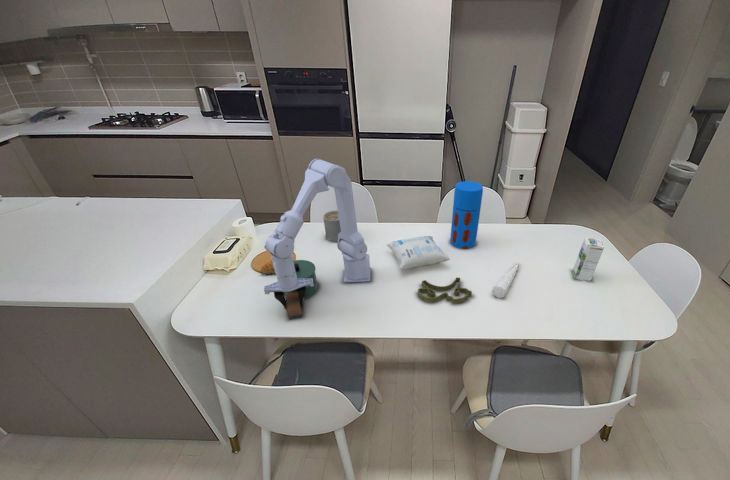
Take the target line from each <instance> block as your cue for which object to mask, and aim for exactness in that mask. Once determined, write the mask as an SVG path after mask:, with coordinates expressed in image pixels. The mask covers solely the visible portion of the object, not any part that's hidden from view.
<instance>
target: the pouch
mask: <svg viewBox="0 0 730 480" xmlns="http://www.w3.org/2000/svg"><path fill="white" fill-rule="evenodd" d="M385 246H387V247H388V248H389V250H391V251H392V253H393V254H394V255H395V257H396V258H397V260H398V263H399V269H400V270H401V269H402V270H405V269H407V270H408V269H413V268H418V267H423V266H429V265H434V264H440V263H444V262H447V261H451V257H450V256H448V255H447V254H446V253H445V251H443V250H442V249H441V248H440V247H439V246H438V245H437V244H436V242H435V241H434V239H433V236H431V235H425V236H423V235H422V236H417V237H411V238H403V239H399V240H395V241H394V240H393V241H392V242H391V241H390V242H389V243H386V244H385Z"/></svg>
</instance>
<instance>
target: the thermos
mask: <svg viewBox="0 0 730 480" xmlns="http://www.w3.org/2000/svg"><path fill="white" fill-rule="evenodd" d="M453 191H454V193H453V204H452V215H451V228H450V245H452V246H453V247H455V248H456V249H461V250H469V249H472V248H474V247H475V245H476V242H477V237H478V230H479V223H480V216H481V215H480V214H481V207H482V200H483V193H484V187H483V184H481V183H479V182H477V181H470V180H469V181H468V180H465V181H464V180H463V181H459V182H457V183H456V184H455V186H454V190H453Z"/></svg>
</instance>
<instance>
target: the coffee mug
mask: <svg viewBox="0 0 730 480" xmlns="http://www.w3.org/2000/svg"><path fill="white" fill-rule="evenodd" d="M322 218H323V224H324V230H325V239H326V240H328V241H330V242H334V243H338V234H339V233H340V232H341V227H340V221H339V215H338V209H337V210H335V209H334V210H330V211H327V212H325V213H324V214H323V215H322Z"/></svg>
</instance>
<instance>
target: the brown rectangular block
mask: <svg viewBox="0 0 730 480" xmlns="http://www.w3.org/2000/svg"><path fill="white" fill-rule="evenodd" d="M285 299H286V310H285V311H286V315H287V317H288V319H289V320H293V319H299V318H302V316H303V312H302V307H301V305H300V299H299V296H298V292H293V293H287V294H286V296H285Z"/></svg>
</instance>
